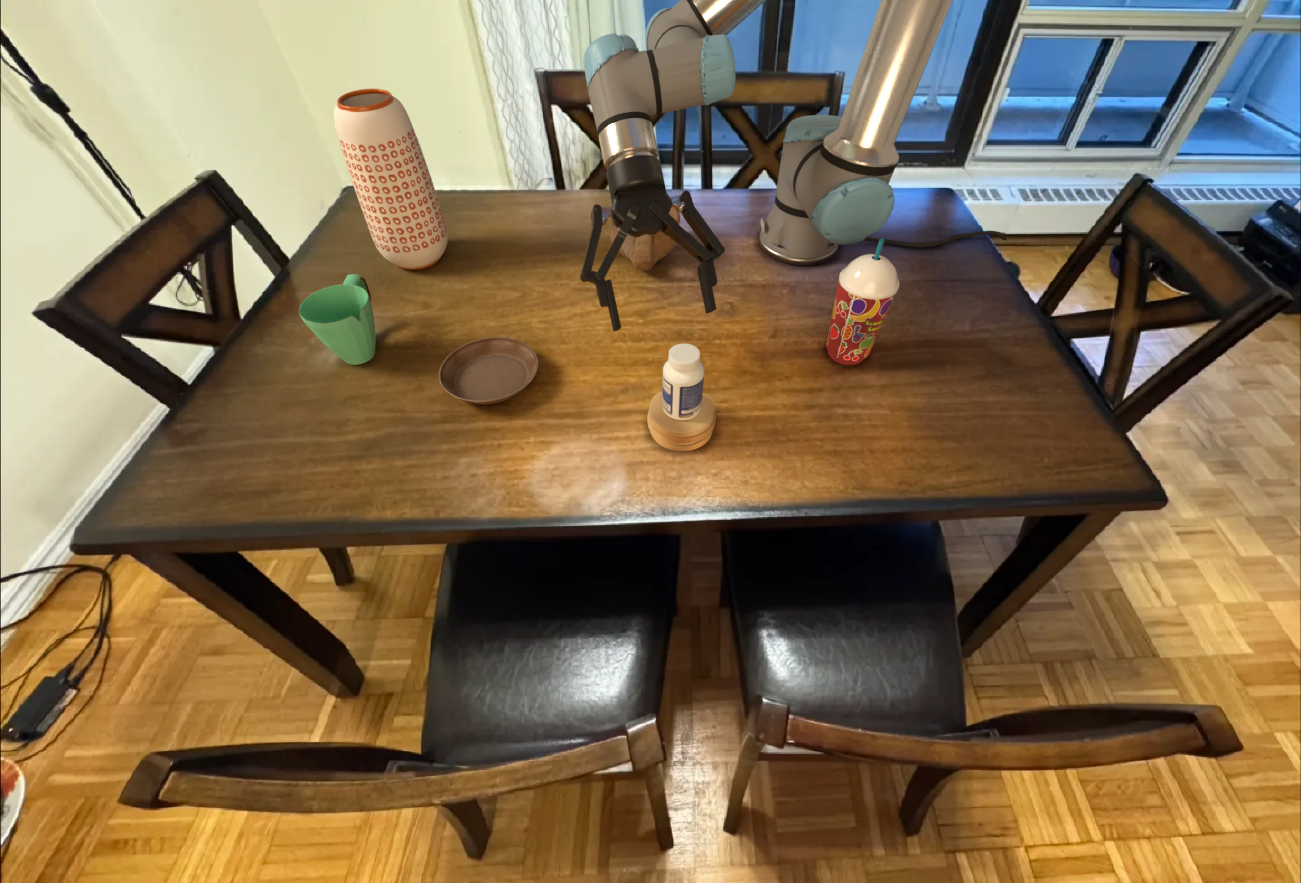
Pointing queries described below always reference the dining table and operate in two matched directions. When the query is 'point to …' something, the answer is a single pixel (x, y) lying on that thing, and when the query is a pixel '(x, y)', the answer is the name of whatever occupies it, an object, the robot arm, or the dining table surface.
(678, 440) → the coaster stack
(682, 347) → the pill bottle
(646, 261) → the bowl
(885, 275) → the smoothie
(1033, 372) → the dining table surface
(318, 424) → the dining table surface
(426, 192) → the patterned vase
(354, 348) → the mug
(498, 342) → the saucer
